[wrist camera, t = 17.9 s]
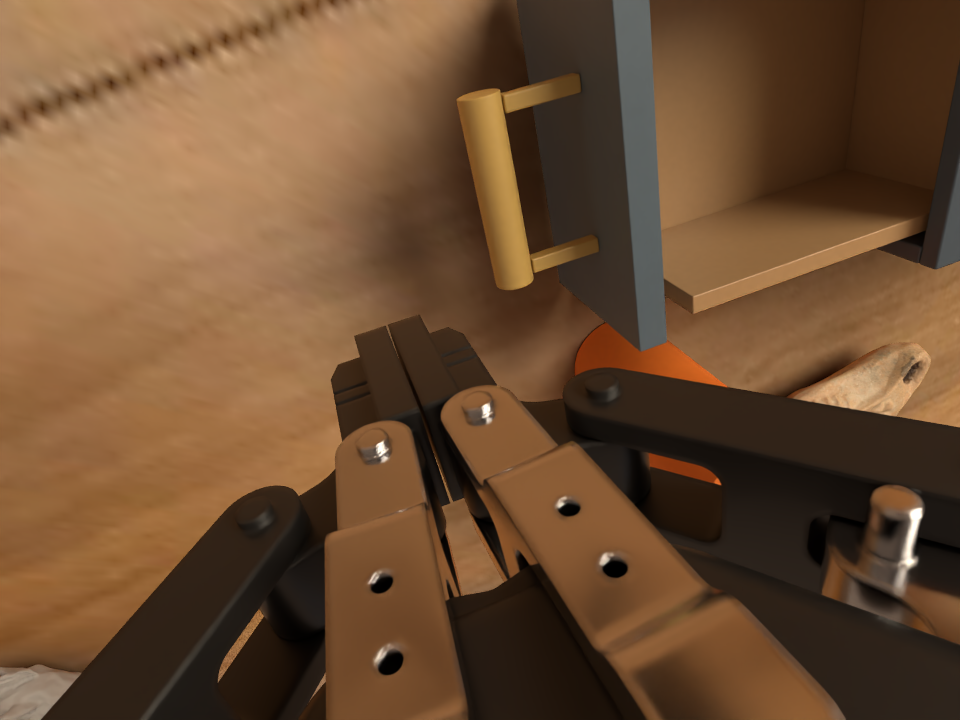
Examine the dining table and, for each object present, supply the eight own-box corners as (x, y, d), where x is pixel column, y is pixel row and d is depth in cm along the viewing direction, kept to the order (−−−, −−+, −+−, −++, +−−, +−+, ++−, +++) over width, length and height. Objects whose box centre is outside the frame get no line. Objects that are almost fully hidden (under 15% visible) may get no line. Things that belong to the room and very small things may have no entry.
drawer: (478, 309, 29) (538, 390, 23) (403, -4, 22) (458, -18, 16) (837, 188, 32) (981, 227, 26) (871, -121, 25) (1080, -174, 19)
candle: (568, 334, 33) (714, 482, 22) (653, 304, 33) (834, 433, 23) (579, 409, 35) (714, 573, 25) (658, 379, 36) (821, 526, 25)
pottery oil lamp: (908, 361, 42) (973, 454, 38) (739, 428, 46) (783, 517, 42) (917, 308, 35) (998, 415, 31) (717, 392, 39) (767, 496, 35)
